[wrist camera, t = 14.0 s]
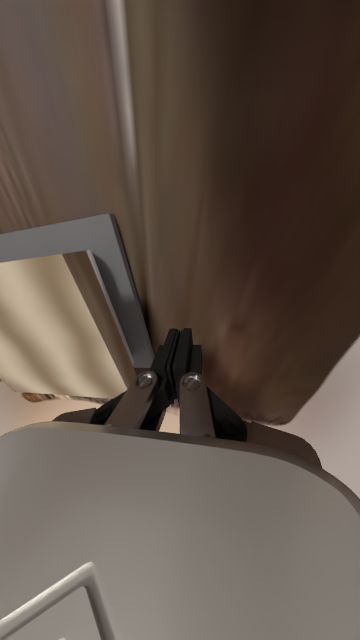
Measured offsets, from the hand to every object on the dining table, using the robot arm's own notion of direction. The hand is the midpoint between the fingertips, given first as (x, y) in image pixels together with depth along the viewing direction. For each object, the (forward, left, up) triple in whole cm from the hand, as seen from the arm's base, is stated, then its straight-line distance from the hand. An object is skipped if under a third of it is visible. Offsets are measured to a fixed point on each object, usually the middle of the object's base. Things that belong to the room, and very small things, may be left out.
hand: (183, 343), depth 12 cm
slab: (+14, 0, -1) cm, 14 cm away
